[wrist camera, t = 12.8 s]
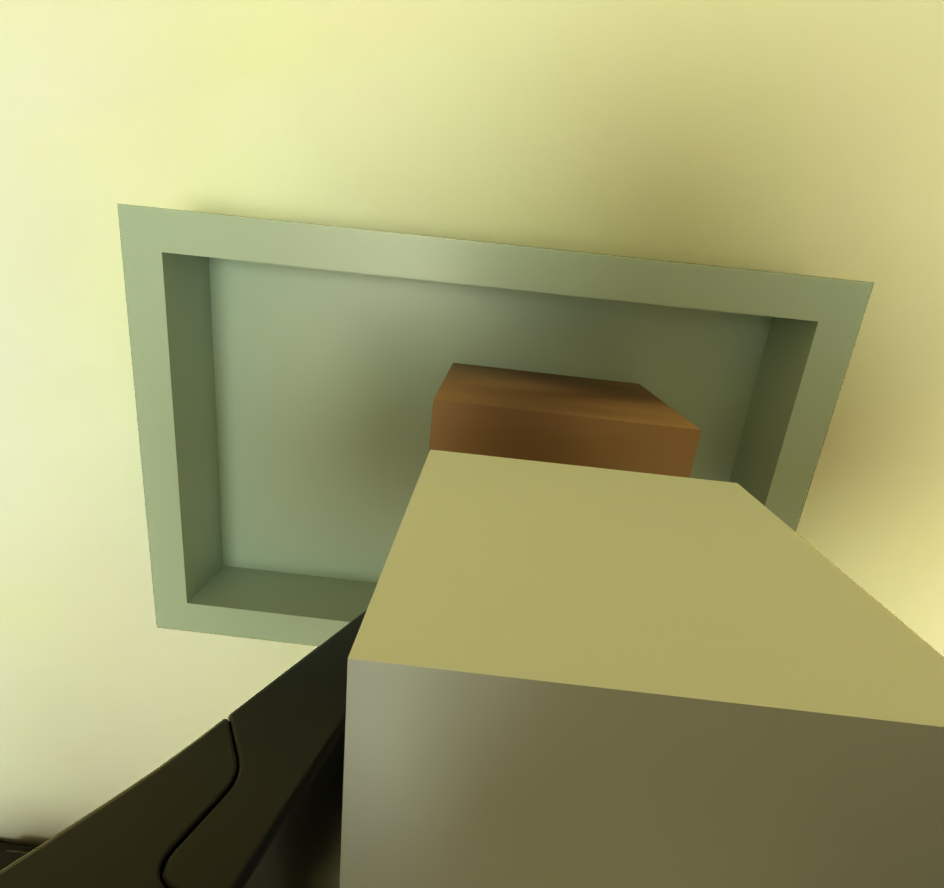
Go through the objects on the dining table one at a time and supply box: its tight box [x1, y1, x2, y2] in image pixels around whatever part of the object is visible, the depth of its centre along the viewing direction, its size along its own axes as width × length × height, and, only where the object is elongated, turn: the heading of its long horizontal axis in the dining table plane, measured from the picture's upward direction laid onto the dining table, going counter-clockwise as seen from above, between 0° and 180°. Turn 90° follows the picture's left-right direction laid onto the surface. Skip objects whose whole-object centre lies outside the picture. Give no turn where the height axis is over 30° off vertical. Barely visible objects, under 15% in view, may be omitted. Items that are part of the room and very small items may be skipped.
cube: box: [340, 450, 944, 888], centre depth 7 cm, size 5×5×5 cm
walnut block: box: [429, 363, 701, 478], centre depth 14 cm, size 6×6×5 cm
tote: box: [118, 204, 874, 646], centre depth 16 cm, size 12×18×3 cm, turn 84°
